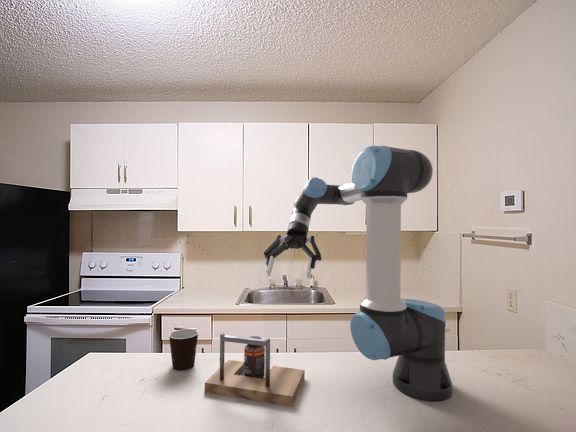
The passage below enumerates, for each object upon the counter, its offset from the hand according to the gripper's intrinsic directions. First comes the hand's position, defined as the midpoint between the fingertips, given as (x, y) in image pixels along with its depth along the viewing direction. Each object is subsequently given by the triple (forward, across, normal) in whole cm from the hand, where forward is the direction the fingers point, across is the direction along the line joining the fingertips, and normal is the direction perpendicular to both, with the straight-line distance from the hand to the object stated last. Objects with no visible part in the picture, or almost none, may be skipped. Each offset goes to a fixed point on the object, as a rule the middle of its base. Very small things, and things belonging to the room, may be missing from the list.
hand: (287, 274), depth 102 cm
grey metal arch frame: (+33, +6, -3) cm, 34 cm away
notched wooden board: (+32, +4, -7) cm, 33 cm away
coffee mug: (+28, +30, -12) cm, 43 cm away
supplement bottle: (+30, +6, -10) cm, 32 cm away
